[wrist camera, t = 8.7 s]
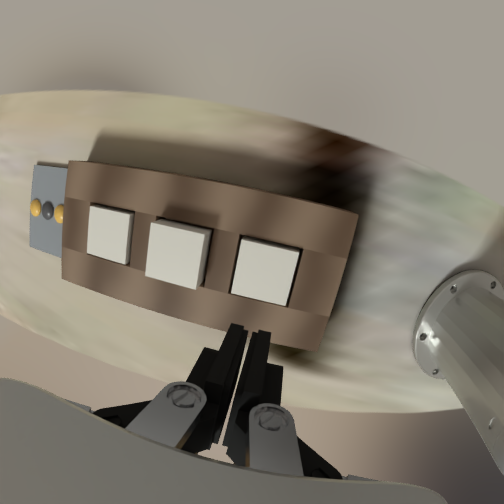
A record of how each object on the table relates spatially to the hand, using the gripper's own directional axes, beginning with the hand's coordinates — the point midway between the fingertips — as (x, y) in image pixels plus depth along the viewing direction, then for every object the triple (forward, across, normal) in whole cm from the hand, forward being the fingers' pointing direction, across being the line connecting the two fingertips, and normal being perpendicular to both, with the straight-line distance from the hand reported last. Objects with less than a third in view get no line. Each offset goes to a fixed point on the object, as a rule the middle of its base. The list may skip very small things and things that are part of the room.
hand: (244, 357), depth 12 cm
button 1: (+14, 0, 0) cm, 14 cm away
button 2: (+14, +14, 0) cm, 20 cm away
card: (+15, +25, 0) cm, 29 cm away
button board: (+15, +7, 0) cm, 17 cm away
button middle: (+13, +7, 0) cm, 15 cm away
